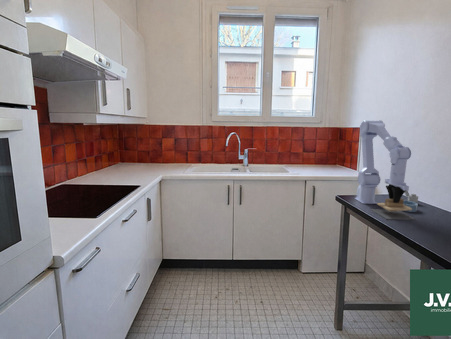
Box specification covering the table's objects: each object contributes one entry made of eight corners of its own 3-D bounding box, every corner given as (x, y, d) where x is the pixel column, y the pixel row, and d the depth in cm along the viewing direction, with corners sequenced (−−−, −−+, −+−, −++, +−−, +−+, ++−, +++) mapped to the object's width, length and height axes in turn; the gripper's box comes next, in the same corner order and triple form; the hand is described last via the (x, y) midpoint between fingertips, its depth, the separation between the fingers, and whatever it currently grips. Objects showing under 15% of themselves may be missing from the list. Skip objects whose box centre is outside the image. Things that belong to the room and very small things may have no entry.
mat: (371, 209, 131) (371, 209, 131) (397, 210, 131) (397, 209, 131) (386, 219, 118) (386, 218, 118) (415, 219, 118) (415, 218, 118)
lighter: (415, 203, 142) (417, 189, 141) (417, 204, 141) (419, 189, 139) (401, 202, 144) (403, 188, 142) (402, 203, 142) (404, 189, 141)
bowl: (393, 206, 136) (394, 200, 136) (409, 206, 136) (410, 200, 136) (403, 211, 129) (404, 205, 128) (420, 212, 128) (421, 205, 128)
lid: (377, 204, 129) (377, 196, 128) (397, 203, 129) (398, 195, 128) (389, 211, 119) (390, 202, 119) (411, 210, 119) (412, 201, 118)
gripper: (417, 176, 114) (413, 206, 116) (396, 170, 128) (393, 197, 131) (401, 176, 114) (397, 206, 116) (382, 170, 128) (378, 197, 131)
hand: (394, 201), depth 124 cm, fingers closed on lid, 2 cm apart
